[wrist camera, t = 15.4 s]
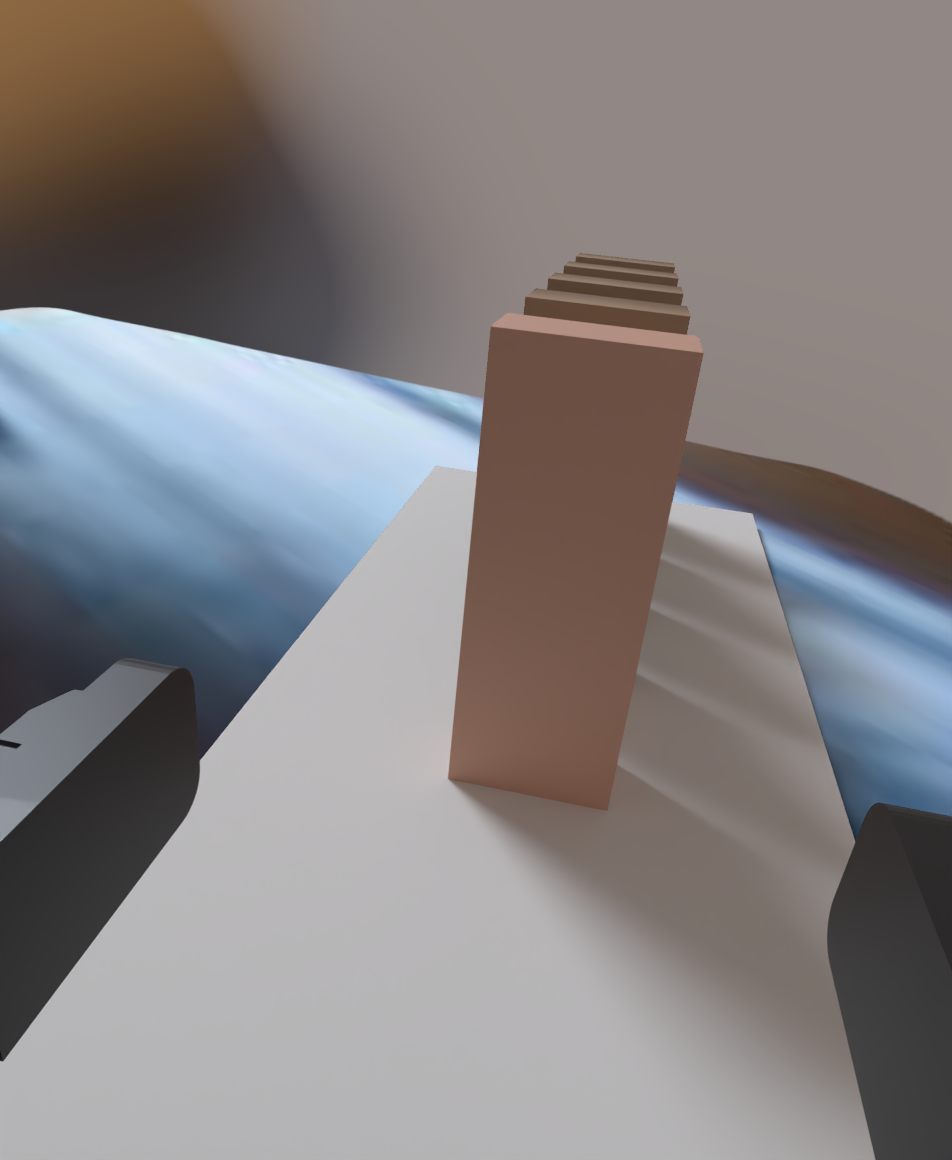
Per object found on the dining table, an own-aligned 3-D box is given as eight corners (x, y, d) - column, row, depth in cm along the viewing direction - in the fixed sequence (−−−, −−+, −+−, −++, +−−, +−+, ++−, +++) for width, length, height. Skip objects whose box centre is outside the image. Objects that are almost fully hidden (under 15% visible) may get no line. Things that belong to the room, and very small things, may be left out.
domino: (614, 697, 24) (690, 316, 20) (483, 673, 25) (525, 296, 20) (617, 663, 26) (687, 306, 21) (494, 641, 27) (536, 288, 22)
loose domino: (607, 811, 20) (703, 352, 15) (447, 778, 20) (490, 325, 16) (610, 760, 22) (697, 336, 17) (463, 732, 22) (507, 312, 17)
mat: (1039, 1512, 10) (1059, 1493, 10) (-103, 1173, 12) (-111, 1149, 12) (749, 525, 40) (752, 513, 40) (435, 477, 42) (435, 466, 42)
